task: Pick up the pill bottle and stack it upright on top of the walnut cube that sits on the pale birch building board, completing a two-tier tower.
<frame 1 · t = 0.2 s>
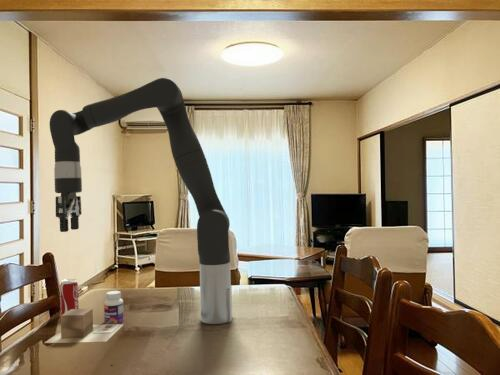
hand: (69, 230, 125), 28 cm above the table, fingers open, 8 cm apart
board: (86, 337, 112), on the table
pill bottle: (114, 326, 122), on the table
instruction card: (106, 328, 115), resting on board
walnut cube: (77, 334, 111), point 1 cm above the table, touching board
soda can: (69, 319, 130), on the table
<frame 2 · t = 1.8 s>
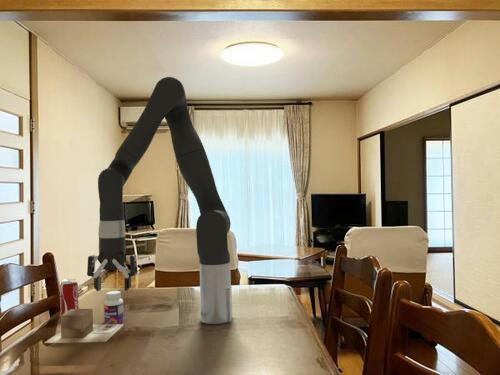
hand: (112, 290, 122), 10 cm above the table, fingers open, 8 cm apart
nothing on the table moved.
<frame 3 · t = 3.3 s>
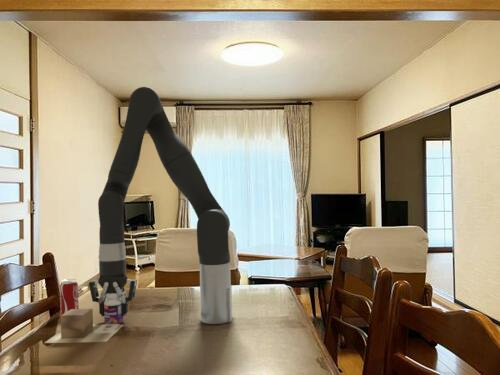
hand: (113, 315, 122), 3 cm above the table, fingers closed on pill bottle, 5 cm apart
pill bottle: (114, 326, 122), on the table, touching gripper
everything else where it was.
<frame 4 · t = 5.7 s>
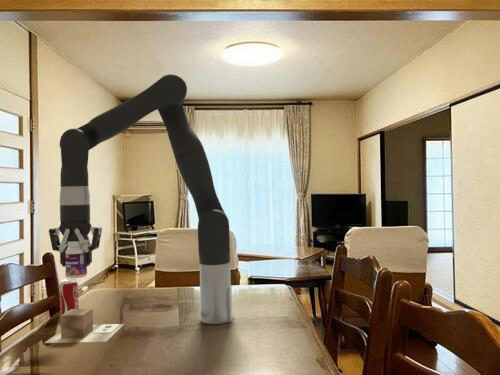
hand: (76, 265, 112), 20 cm above the table, fingers closed on pill bottle, 5 cm apart
pill bottle: (76, 277, 112), point 16 cm above the table, touching gripper
everything else where it was.
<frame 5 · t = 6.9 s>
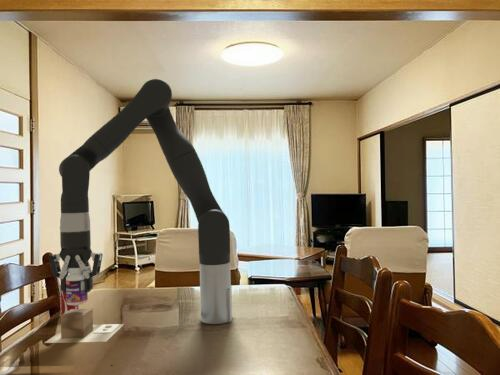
hand: (76, 291, 111), 13 cm above the table, fingers closed on pill bottle, 5 cm apart
pill bottle: (77, 303, 111), point 9 cm above the table, touching gripper
everything else where it was.
when the fingers open (12 cm above the table, at t = 8.0 s): pill bottle drops 1 cm, resting on walnut cube.
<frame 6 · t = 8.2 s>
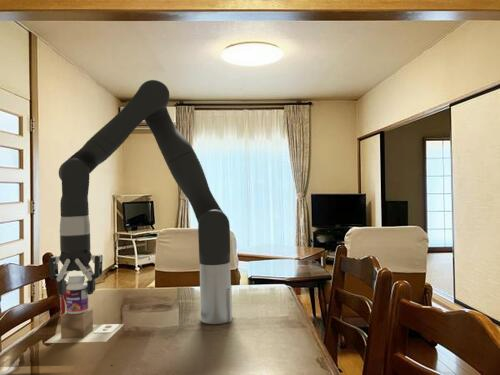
hand: (76, 294, 111), 12 cm above the table, fingers open, 7 cm apart
pill bottle: (77, 312, 111), point 7 cm above the table, touching walnut cube
walnut cube: (77, 334, 111), point 1 cm above the table, touching board, pill bottle
everything else where it was.
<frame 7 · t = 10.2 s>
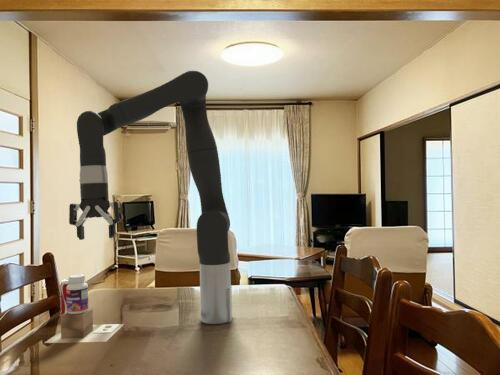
hand: (96, 238, 118), 26 cm above the table, fingers open, 8 cm apart
nothing on the table moved.
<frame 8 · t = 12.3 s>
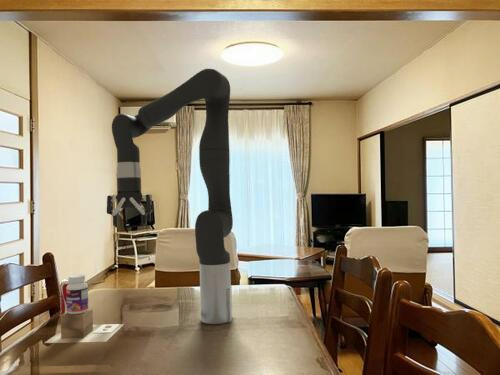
hand: (130, 226, 133), 28 cm above the table, fingers open, 8 cm apart
nothing on the table moved.
at the end: pill bottle 0.2 cm off-centre on the walnut cube, point 5.8 cm above the walnut cube's base; pill bottle tilted 0°; walnut cube moved 0.0 cm from its start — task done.
